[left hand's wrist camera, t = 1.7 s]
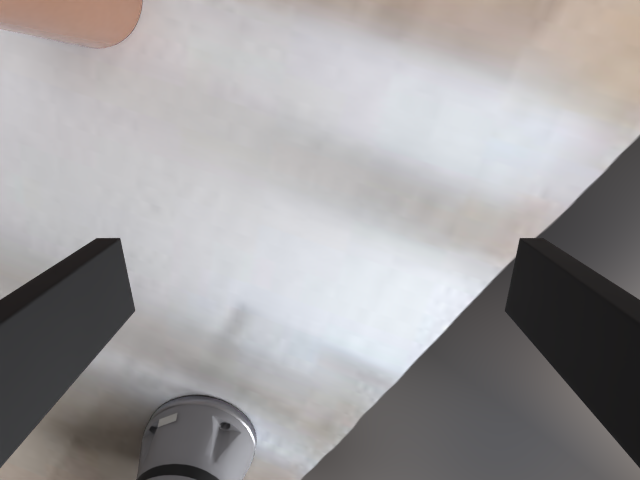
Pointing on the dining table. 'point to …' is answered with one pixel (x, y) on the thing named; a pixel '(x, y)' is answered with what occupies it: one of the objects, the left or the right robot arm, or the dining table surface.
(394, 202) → the dining table surface
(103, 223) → the dining table surface
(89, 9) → the jar
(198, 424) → the right robot arm
